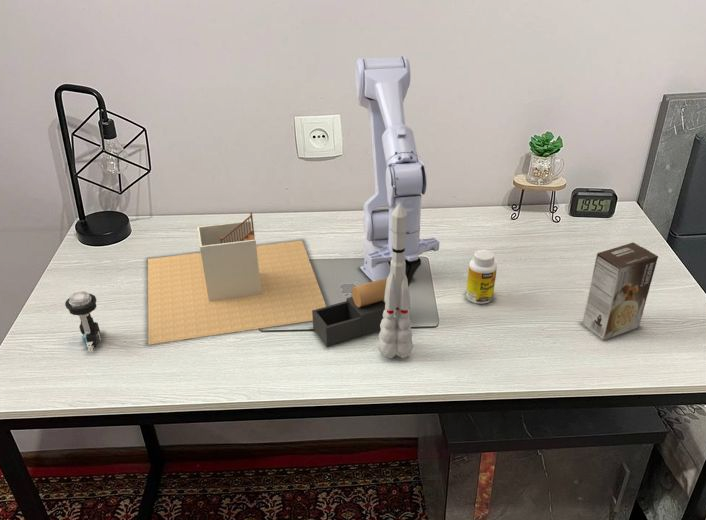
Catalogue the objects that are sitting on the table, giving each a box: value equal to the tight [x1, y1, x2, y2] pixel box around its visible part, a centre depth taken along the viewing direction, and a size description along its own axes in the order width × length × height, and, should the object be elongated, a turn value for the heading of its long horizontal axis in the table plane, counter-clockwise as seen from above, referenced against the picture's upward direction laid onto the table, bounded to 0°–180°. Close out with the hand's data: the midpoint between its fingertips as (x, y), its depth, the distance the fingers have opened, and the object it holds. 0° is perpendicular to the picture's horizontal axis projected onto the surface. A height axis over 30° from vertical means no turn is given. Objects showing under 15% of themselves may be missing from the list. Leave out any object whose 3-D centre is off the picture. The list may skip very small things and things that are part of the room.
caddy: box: [312, 296, 385, 348], centre depth 134 cm, size 7×13×5 cm, turn 117°
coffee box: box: [581, 242, 659, 341], centre depth 131 cm, size 9×6×16 cm
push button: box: [64, 291, 102, 352], centre depth 128 cm, size 7×5×10 cm
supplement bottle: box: [465, 249, 498, 305], centre depth 141 cm, size 6×6×10 cm
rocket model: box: [378, 203, 414, 359], centre depth 120 cm, size 7×7×30 cm
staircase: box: [196, 211, 263, 302], centre depth 142 cm, size 9×11×17 cm
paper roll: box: [351, 278, 387, 307], centre depth 132 cm, size 4×7×4 cm, turn 117°
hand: (402, 289), depth 135 cm, fingers closed
